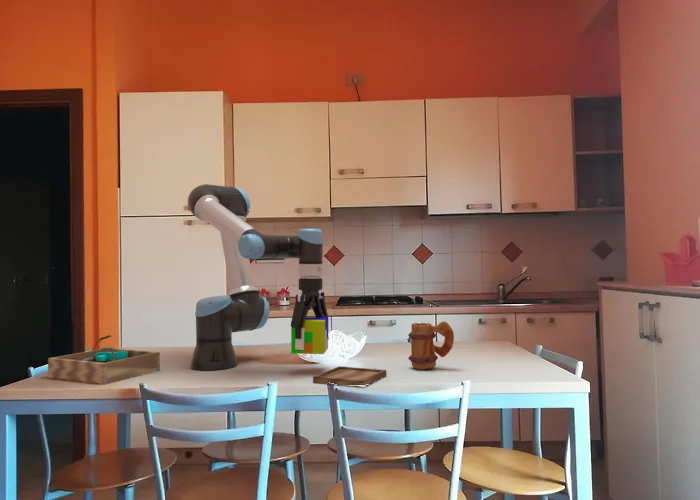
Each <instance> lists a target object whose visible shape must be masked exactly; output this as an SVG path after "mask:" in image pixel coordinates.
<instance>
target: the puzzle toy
mask: <svg viewBox="0 0 700 500" xmlns="http://www.w3.org/2000/svg"><path fill="white" fill-rule="evenodd" d="M290 328H291V329H290V330H291V333H290V334H291V335H290V337H291V338H290V339H291V341H290V343H291V344H290V345H291V346H290V350H291V352H290V353H291V354H295V355H296V354H298V355H299V354H304V355H305V354H306V355H325V353H326V352H327V351H328V349H329V316H328V317H316V316H306V319H305V322H304V325H303V327H302V328H304V350H298V349H295V328H292V327H291V326H290Z"/></svg>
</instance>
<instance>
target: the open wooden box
mask: <svg viewBox="0 0 700 500" xmlns="http://www.w3.org/2000/svg"><path fill="white" fill-rule="evenodd" d="M121 351H127V352H128V356H127V358H126V359H121V360H116V361H111V362H106V363H100V362H93V361H92V362H90V361H82V360H83V359H85V358H89V357H94V356H95V353H101V348H98V349H94V350H93V349H92V350H87V351H84V352H83V351H81V352H77V353H72V354H65V355H60V356H55V357H54V356H53V357H48V358H47V375H48V376H47V377H48V379H49V378H50V379H55V378H56V379H57V380H63V379H67V380H66V381H71V380H75V381H74V382H79V381H83V382H82V383H87V382H91V383H90V384H95V383H99V384H98V385H103V384H104V385H107V383H108V384H111V383H110V382H112V383H116V382H120V381H123V379H124V380H127V379H126V378H128V379H131V378H130V377H132V378H135V377H134V376H136V377H139V376H138V375H140V376H143V375H142V374H144V375H147V374H146V373H148V374H150V373H149V372H152V373H155V372H154V371H156V372H159V371H158V370H160V371H161V360H160V359H161V355H160V354H161V353H160V352H159V351H147V350H134V349H126V348H125V349H123V348H114V352H121ZM103 352H112V349H106V350H103ZM119 380H120V381H119ZM115 381H116V382H115Z"/></svg>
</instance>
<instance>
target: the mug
mask: <svg viewBox="0 0 700 500" xmlns="http://www.w3.org/2000/svg"><path fill="white" fill-rule="evenodd" d="M436 333H438V334H439V335H441V336H443V338H444V341H443V344H442V345H441V346H437V345H435V344H434V339H435V338H436V337H437V334H436ZM454 333H455V332H454V330H453V328H452V327H451V325H450V324H449V323H448V322H447V321H443V320H442V321H441V322H439V323H438V324H437V325H432V323H429V322H427V323H425V322H420V323H418V322H414V323H411V331H410V332H409V333H408V334H407V336H408V337H409V338H410V339H411V341H410V343H411V350H410V351H411V352H410V353H411V354H410V355H409V357H408V360H409V361H410V362H411V366H412V368H414V369H416V370H429V369H432V368H435V366H436V365H437V363H436V362H437V360H438V358H439V357H441V358H445V357H446V356H447V355H448V354H449V353H450V351H451V350H452V349H453V346H454V341H455V334H454ZM436 354H437V355H438V356H439V357H438V356H437V355H436Z"/></svg>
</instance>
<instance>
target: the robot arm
mask: <svg viewBox="0 0 700 500" xmlns="http://www.w3.org/2000/svg"><path fill="white" fill-rule="evenodd" d="M187 197H188V198H187V207H188V209H189V211H190V212H191V214H192V215H193V216H195V218H197V219H198V220H200V221H203V222H207V223H208V224H209V225H211V226H212V227H214V228H215V229H216V230H217V231H219V233H220V238H221V239H220V240H221V245H222V251H223V256H224V260H225V262H224V263H225V267H226V273H227V279H228V280H227V281H228V284H229V292H228V293H227V295H225V294H224V295H217V296H215V295H214V296H209V297H204V298H202V299H199V300H198V301H197V303H196V304H195V305H196V306H195V314H194V315H195V335H196V336H195V337H196V339H195V347H194V351H193V354H192V359H191V360H190V367H191V370H195V371H221V370H226V369H230V368H231V369H232V368H234V367H236V366H238V357H237V355H236V352H235V349H234V345H233V341H232V340H233V339H232V335H233V334H232V333H238V332H239V333H240V332H246V331H249V332H252V331H255V330H259V329H261V328H263V327H264V326H265V325H266V324H267V321H268V320H269V317H270V304H269V301H268V299H266V298H265V297H264V296H261V294H260V290H259V289H258V288H257V287H255V285H254V284H255V283H254V276H253V273H252V267H251V263H250V260H259V259H261V260H262V259H263V260H264V259H285V260H286V259H298V277H299V279H298V290H300V291H301V294H295V302H294V308H293V313H292V317H291V320H290V328H291V327H292V328H295V349H298V350H304V328H302V327H303V325H304V322H305V319H306V317H308V313H309V311H310V310H311V309H312V311H313V314H314V315H315V316H314V317H328V318H329V313H328V308H327V304H326V300H325V299H326V298H325V292H324V291H322V290H323V279H322V278H321V277H323V270H324V267H323V252H324V251H323V247H324V246H323V244H324V240H323V237H324V236H323V231H322V230H321V229H320V228H300V229H299V231H298V235H297V234H296V235H295V234H294V235H293V234H292V235H291V234H290V235H289V234H288V235H287V234H263V233H261V232H260V231H259V230H257V229H256V228H254V227H253V226H252V225H250V224H249V223H247V222H246V221H247V216H248V215H249V213H250V209H251V201H250V198H249V195H248V194H247V193H246V191H245V190H244V189H242V188H240V187H235V186H231V185H230V186H225V185H216V184H209V183H208V184H200V185H198V186H196V187H194V188H193V189H192V190H191V191H190V193H189V195H188V196H187Z"/></svg>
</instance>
